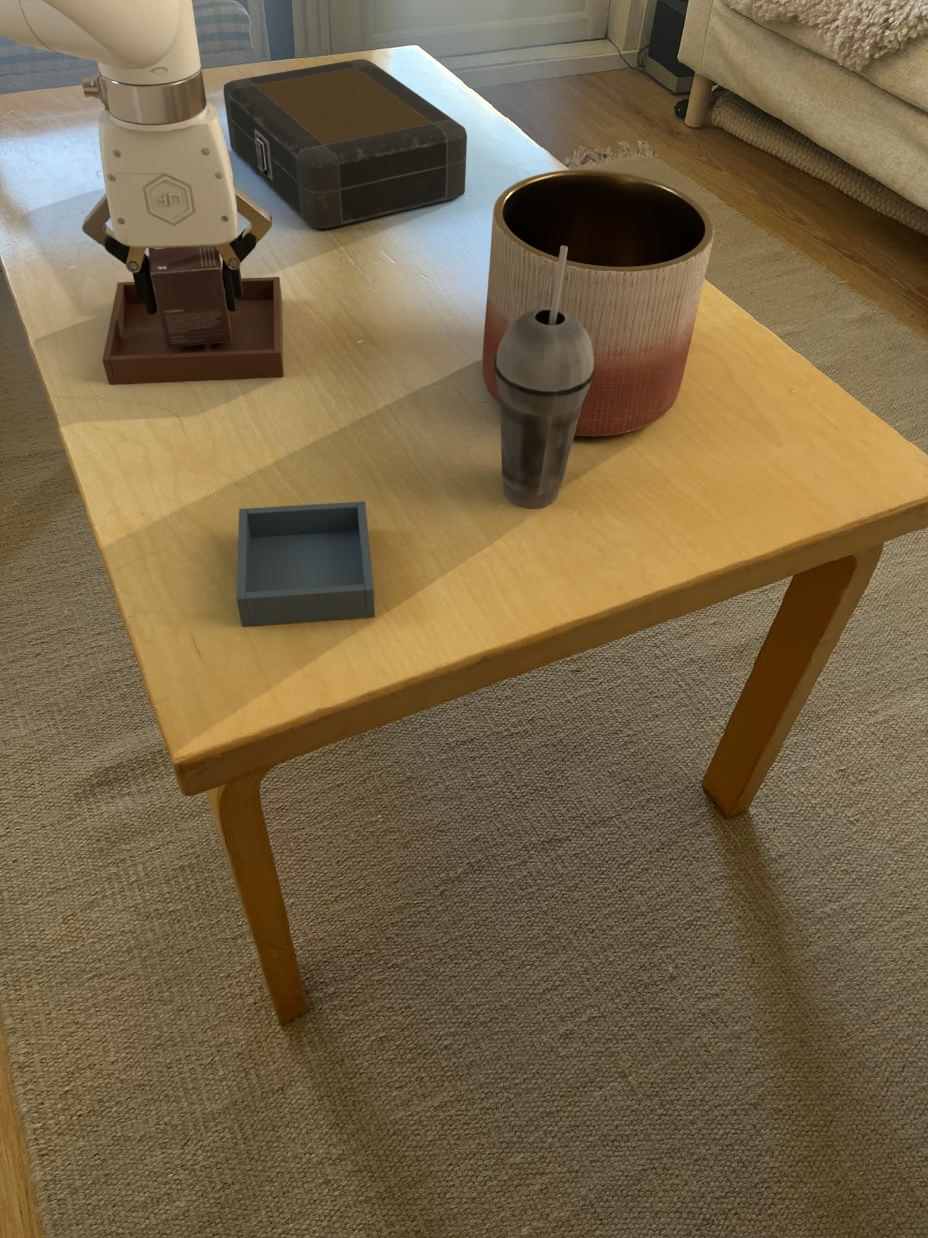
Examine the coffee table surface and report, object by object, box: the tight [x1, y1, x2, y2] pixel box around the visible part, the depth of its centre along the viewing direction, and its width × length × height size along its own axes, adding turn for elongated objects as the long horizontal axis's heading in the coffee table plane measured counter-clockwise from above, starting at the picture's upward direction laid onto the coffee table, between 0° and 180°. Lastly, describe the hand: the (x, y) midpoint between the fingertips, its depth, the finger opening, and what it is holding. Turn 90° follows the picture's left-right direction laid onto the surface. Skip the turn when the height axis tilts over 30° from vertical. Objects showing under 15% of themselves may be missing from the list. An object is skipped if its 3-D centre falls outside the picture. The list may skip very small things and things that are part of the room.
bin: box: [236, 501, 376, 627], centre depth 71 cm, size 9×9×3 cm
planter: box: [481, 168, 715, 438], centre depth 84 cm, size 18×18×16 cm
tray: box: [102, 276, 284, 385], centre depth 91 cm, size 15×13×2 cm
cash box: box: [223, 58, 468, 230], centre depth 115 cm, size 25×20×8 cm
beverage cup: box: [494, 246, 595, 509], centre depth 72 cm, size 7×7×20 cm
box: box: [148, 246, 232, 348], centre depth 89 cm, size 6×6×7 cm
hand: (192, 303), depth 89 cm, fingers closed on box, 6 cm apart
